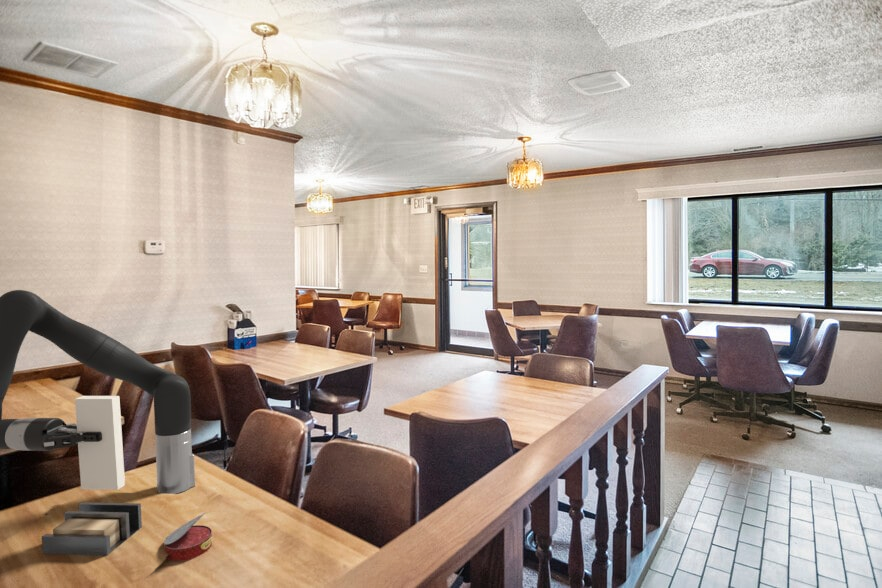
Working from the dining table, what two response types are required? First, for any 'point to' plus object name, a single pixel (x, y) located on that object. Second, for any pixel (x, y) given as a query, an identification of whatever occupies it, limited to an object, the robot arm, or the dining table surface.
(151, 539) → the dining table surface
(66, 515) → the rack
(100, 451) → the white rectangular board
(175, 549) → the canned food
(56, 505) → the shard
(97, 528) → the offcut top
